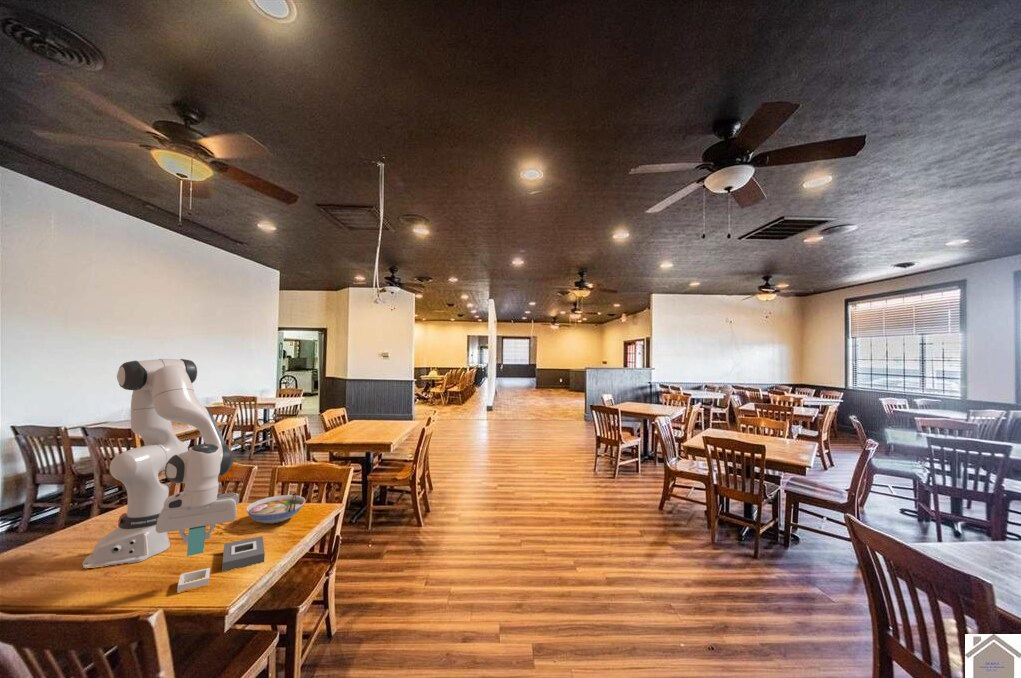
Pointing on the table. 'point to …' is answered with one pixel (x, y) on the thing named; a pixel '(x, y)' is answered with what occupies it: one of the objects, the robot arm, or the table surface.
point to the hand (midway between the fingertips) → (196, 540)
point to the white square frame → (193, 576)
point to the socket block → (243, 553)
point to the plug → (196, 540)
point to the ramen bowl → (275, 508)
